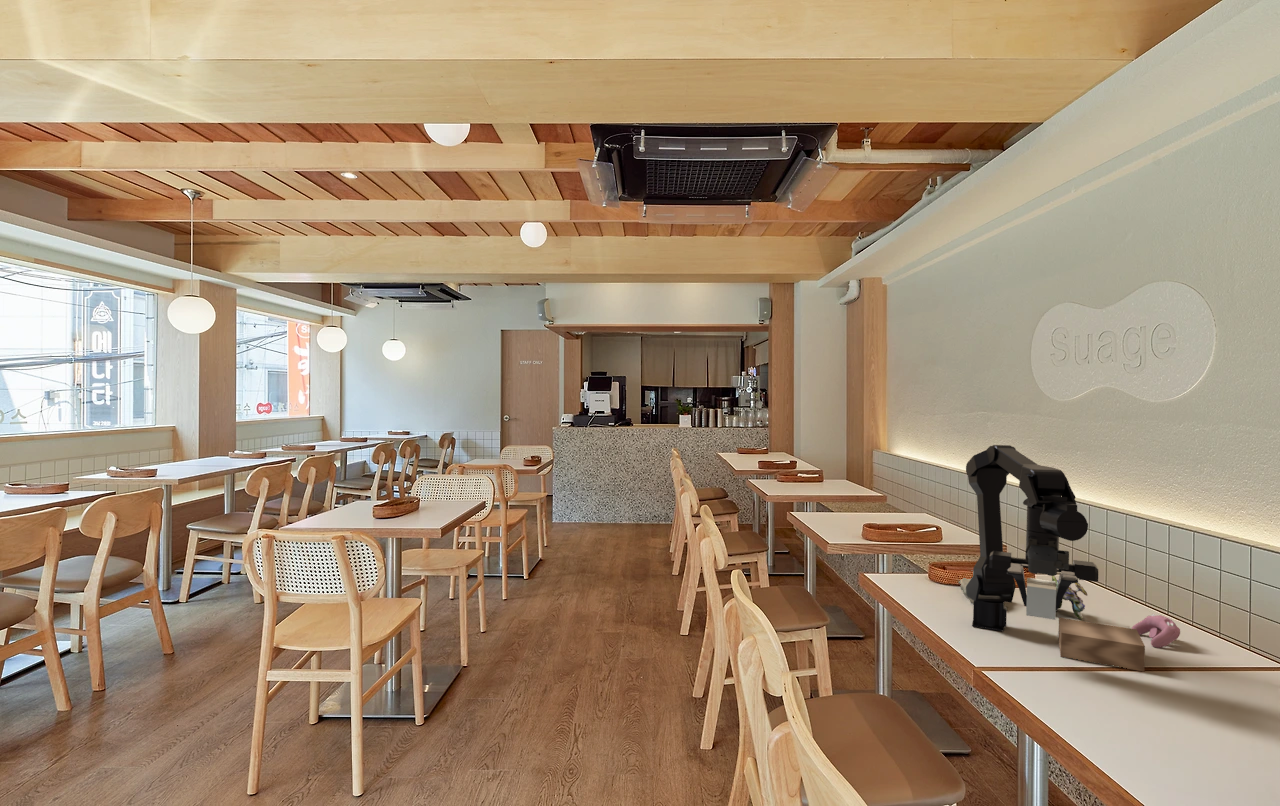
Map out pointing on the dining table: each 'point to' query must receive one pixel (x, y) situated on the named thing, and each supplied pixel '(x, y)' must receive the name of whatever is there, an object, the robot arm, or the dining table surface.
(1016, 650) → the dining table surface
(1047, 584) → the grey block
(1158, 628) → the pink creature figurine
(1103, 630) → the walnut step
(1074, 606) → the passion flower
